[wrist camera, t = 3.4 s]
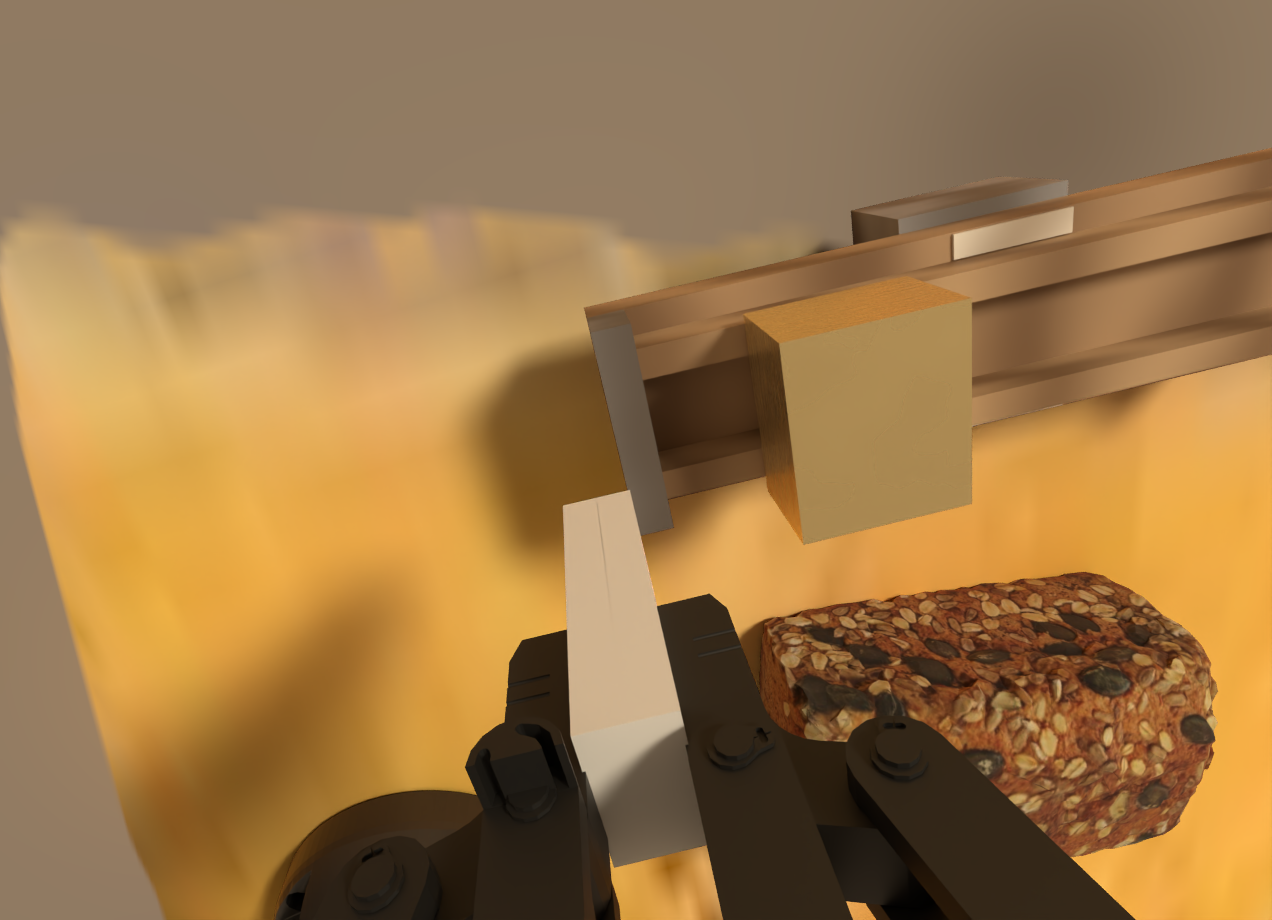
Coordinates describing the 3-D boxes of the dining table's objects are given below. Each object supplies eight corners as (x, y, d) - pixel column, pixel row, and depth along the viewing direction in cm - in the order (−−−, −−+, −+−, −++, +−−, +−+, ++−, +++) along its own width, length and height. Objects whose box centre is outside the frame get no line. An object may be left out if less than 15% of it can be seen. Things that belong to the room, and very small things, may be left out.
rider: (752, 468, 25) (803, 544, 20) (728, 302, 22) (779, 343, 17) (889, 435, 25) (971, 503, 20) (879, 266, 22) (971, 297, 18)
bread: (750, 757, 39) (813, 943, 30) (752, 597, 34) (828, 757, 25) (1065, 713, 40) (1217, 877, 31) (1106, 556, 36) (1297, 692, 27)
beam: (619, 458, 30) (641, 548, 23) (575, 274, 27) (586, 316, 20) (1234, 311, 31) (1432, 357, 24) (1265, 114, 28) (1506, 101, 21)
